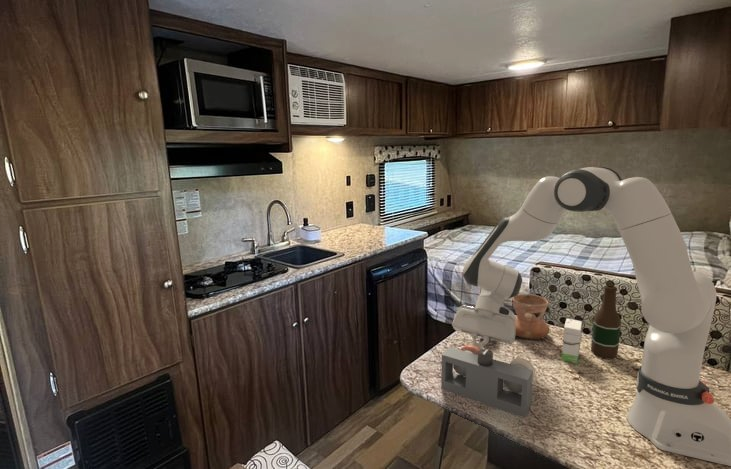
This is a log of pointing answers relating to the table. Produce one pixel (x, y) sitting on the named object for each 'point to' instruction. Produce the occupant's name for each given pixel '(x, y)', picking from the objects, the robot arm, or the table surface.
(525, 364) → the cream knob
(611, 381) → the table surface
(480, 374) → the mount
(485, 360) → the pot dial
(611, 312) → the beer bottle
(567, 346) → the ink box
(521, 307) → the ceramic jug
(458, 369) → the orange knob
